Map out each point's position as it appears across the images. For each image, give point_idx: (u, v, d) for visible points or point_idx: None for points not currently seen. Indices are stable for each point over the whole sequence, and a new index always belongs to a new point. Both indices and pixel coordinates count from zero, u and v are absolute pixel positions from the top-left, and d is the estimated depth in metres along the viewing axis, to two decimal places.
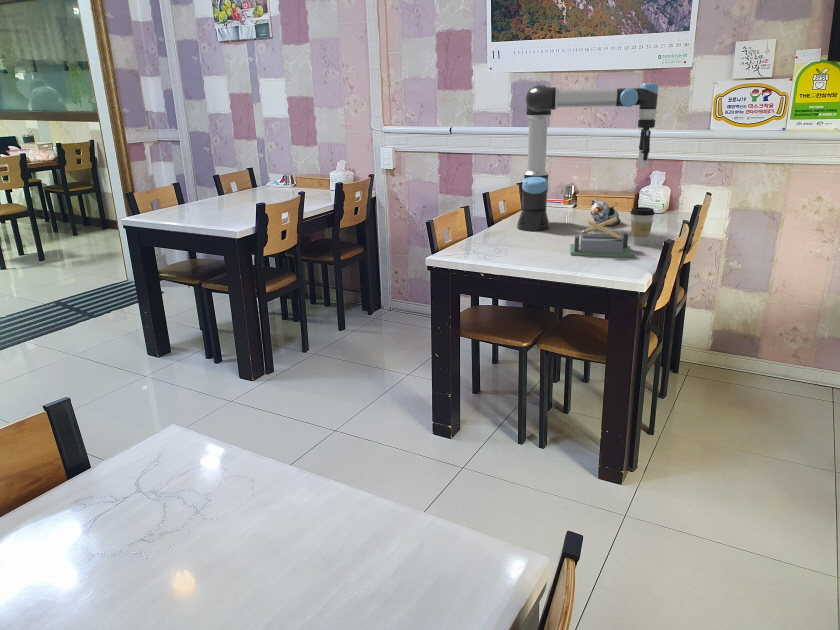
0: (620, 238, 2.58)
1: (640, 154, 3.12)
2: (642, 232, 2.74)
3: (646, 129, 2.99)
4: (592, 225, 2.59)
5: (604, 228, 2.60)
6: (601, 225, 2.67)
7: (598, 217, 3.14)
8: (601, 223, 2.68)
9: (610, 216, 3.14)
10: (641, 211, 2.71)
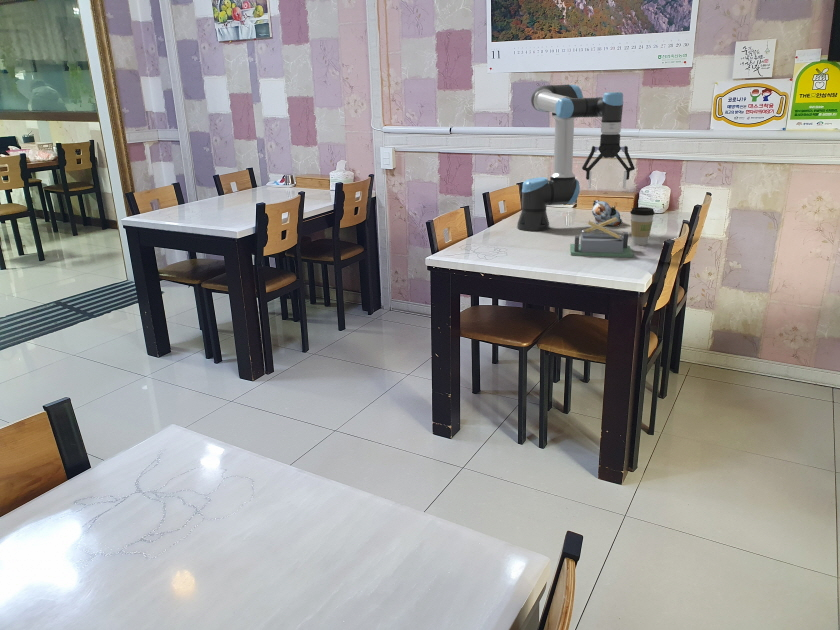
0: (620, 238, 2.58)
1: None
2: (642, 232, 2.74)
3: (600, 145, 2.60)
4: (592, 225, 2.59)
5: (604, 228, 2.60)
6: (601, 225, 2.67)
7: (600, 217, 3.13)
8: (601, 223, 2.68)
9: (612, 216, 3.14)
10: (641, 211, 2.71)
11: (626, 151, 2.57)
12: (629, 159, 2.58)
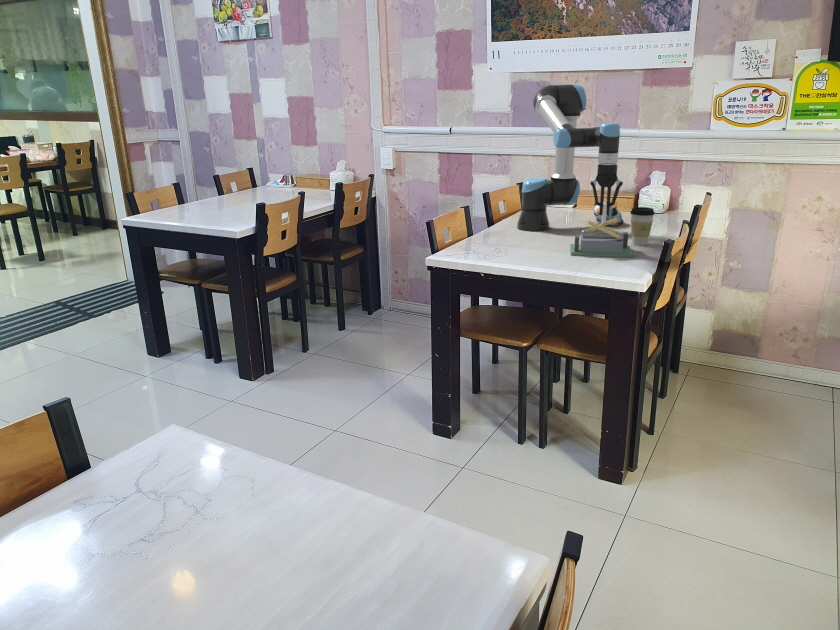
0: (620, 238, 2.58)
1: None
2: (642, 232, 2.74)
3: None
4: (592, 225, 2.59)
5: (604, 228, 2.60)
6: (601, 225, 2.67)
7: (601, 217, 3.13)
8: (601, 223, 2.68)
9: (613, 216, 3.14)
10: (641, 211, 2.71)
11: (619, 186, 2.61)
12: (616, 194, 2.62)
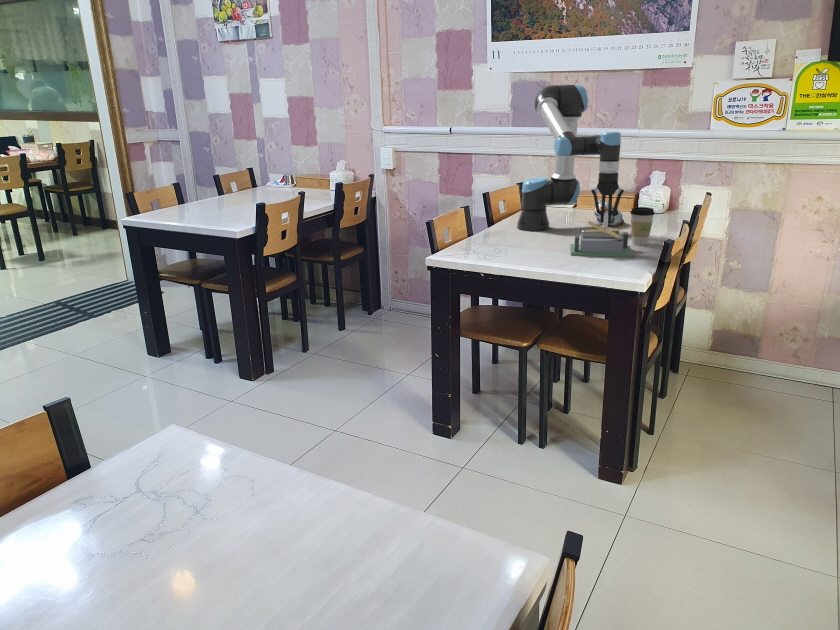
0: (620, 238, 2.58)
1: None
2: (642, 232, 2.74)
3: None
4: (592, 225, 2.59)
5: (604, 228, 2.60)
6: (602, 232, 2.68)
7: None
8: None
9: (614, 216, 3.13)
10: (641, 211, 2.71)
11: (620, 194, 2.62)
12: (617, 202, 2.63)
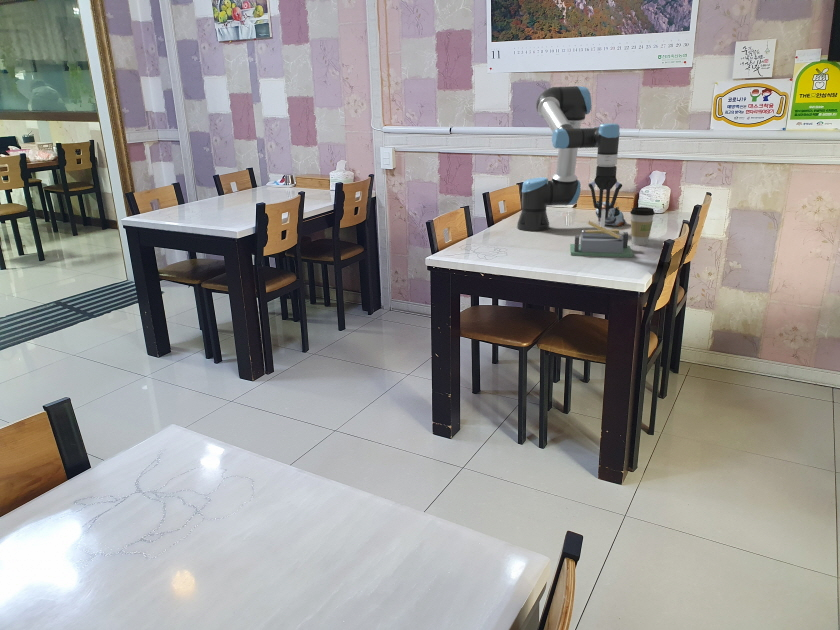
0: (620, 238, 2.58)
1: None
2: (642, 232, 2.74)
3: (594, 179, 2.55)
4: (592, 225, 2.59)
5: (604, 228, 2.60)
6: (602, 232, 2.68)
7: None
8: None
9: (616, 216, 3.13)
10: (641, 211, 2.71)
11: (618, 188, 2.53)
12: (615, 197, 2.54)
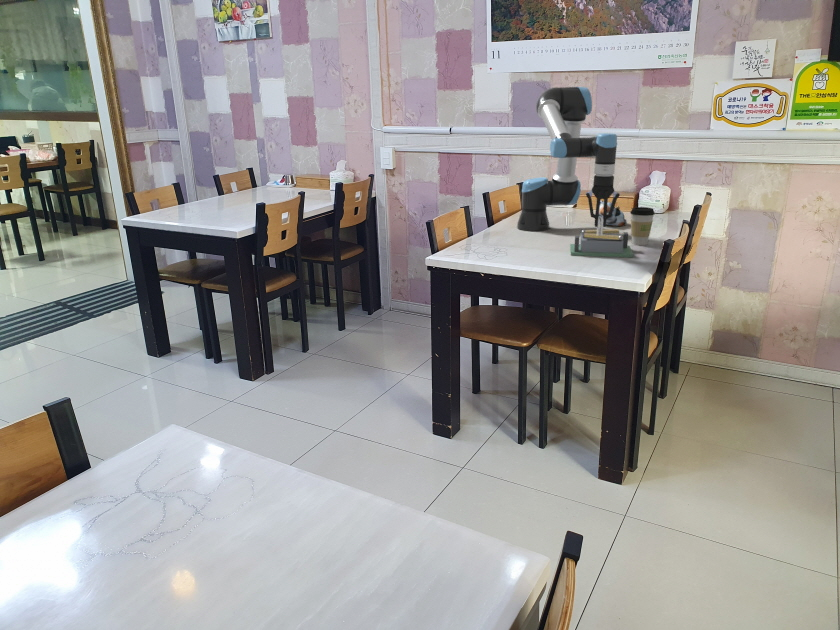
0: (620, 238, 2.58)
1: None
2: (642, 232, 2.74)
3: None
4: (588, 236, 2.61)
5: None
6: (602, 232, 2.68)
7: None
8: (603, 230, 2.69)
9: (616, 217, 3.13)
10: (641, 211, 2.71)
11: (615, 198, 2.54)
12: (612, 206, 2.55)
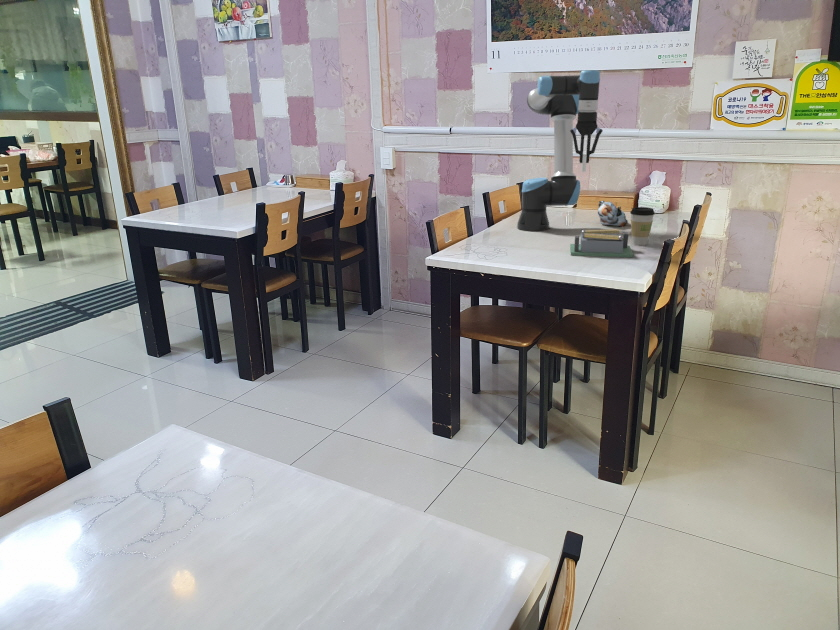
0: (620, 238, 2.58)
1: None
2: (642, 232, 2.74)
3: None
4: (588, 236, 2.61)
5: (601, 235, 2.61)
6: (602, 232, 2.68)
7: (606, 218, 3.11)
8: (603, 230, 2.69)
9: (618, 217, 3.13)
10: (641, 211, 2.71)
11: (598, 134, 2.62)
12: (595, 142, 2.64)
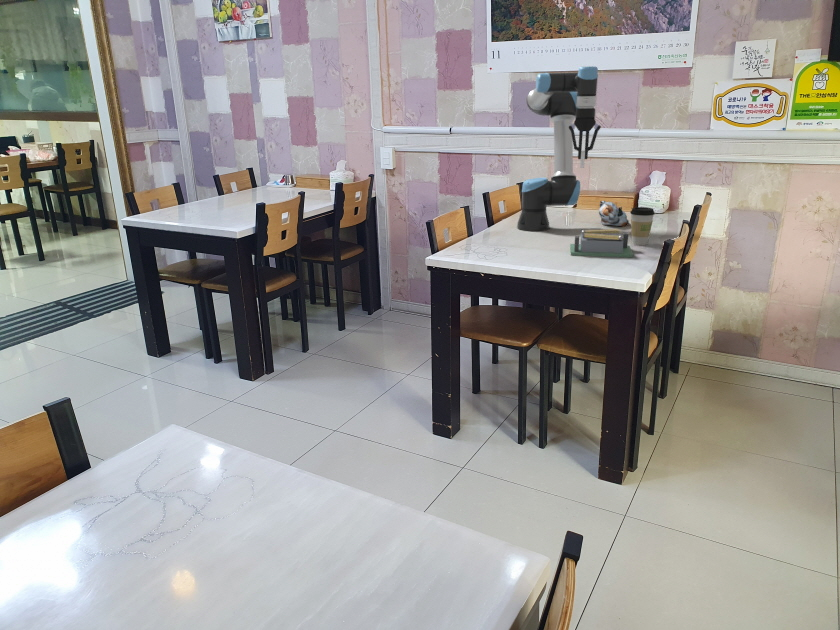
0: (620, 238, 2.58)
1: None
2: (642, 232, 2.74)
3: None
4: (588, 236, 2.61)
5: (601, 235, 2.61)
6: (602, 232, 2.68)
7: (608, 218, 3.11)
8: (603, 230, 2.69)
9: (619, 217, 3.12)
10: (641, 211, 2.71)
11: (597, 130, 2.63)
12: (594, 138, 2.64)
